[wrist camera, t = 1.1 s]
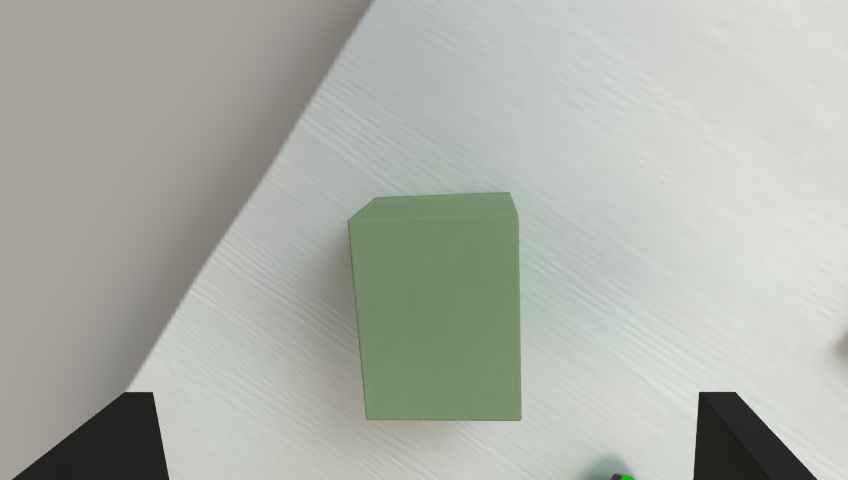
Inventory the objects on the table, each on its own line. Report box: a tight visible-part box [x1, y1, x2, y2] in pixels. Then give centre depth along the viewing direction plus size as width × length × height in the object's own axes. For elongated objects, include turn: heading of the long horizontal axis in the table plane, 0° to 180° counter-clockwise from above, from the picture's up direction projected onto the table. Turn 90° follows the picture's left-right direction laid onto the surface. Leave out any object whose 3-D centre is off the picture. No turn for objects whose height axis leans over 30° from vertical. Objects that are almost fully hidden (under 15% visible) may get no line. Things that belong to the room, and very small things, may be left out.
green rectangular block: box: [348, 192, 521, 421], centre depth 22 cm, size 8×6×5 cm
